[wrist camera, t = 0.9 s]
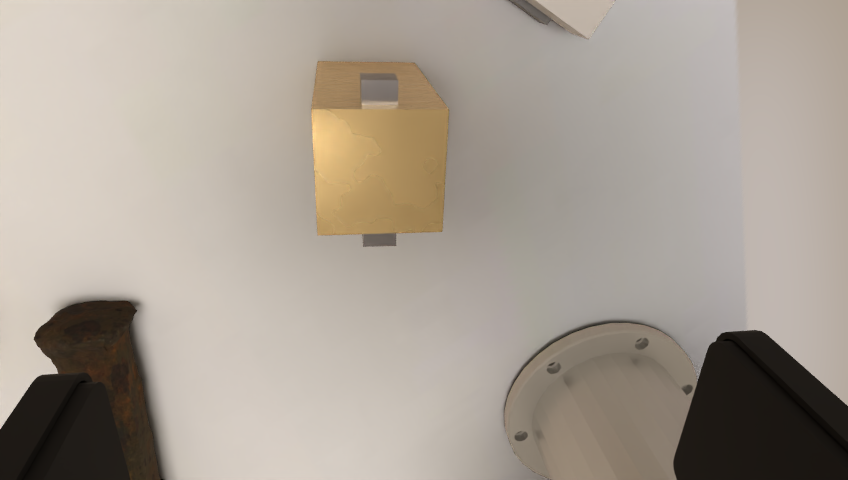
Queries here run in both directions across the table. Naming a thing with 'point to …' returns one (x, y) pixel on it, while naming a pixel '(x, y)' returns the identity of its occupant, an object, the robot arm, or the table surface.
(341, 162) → the tan wooden block
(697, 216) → the table surface
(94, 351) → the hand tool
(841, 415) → the robot arm
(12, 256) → the table surface
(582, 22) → the socket
